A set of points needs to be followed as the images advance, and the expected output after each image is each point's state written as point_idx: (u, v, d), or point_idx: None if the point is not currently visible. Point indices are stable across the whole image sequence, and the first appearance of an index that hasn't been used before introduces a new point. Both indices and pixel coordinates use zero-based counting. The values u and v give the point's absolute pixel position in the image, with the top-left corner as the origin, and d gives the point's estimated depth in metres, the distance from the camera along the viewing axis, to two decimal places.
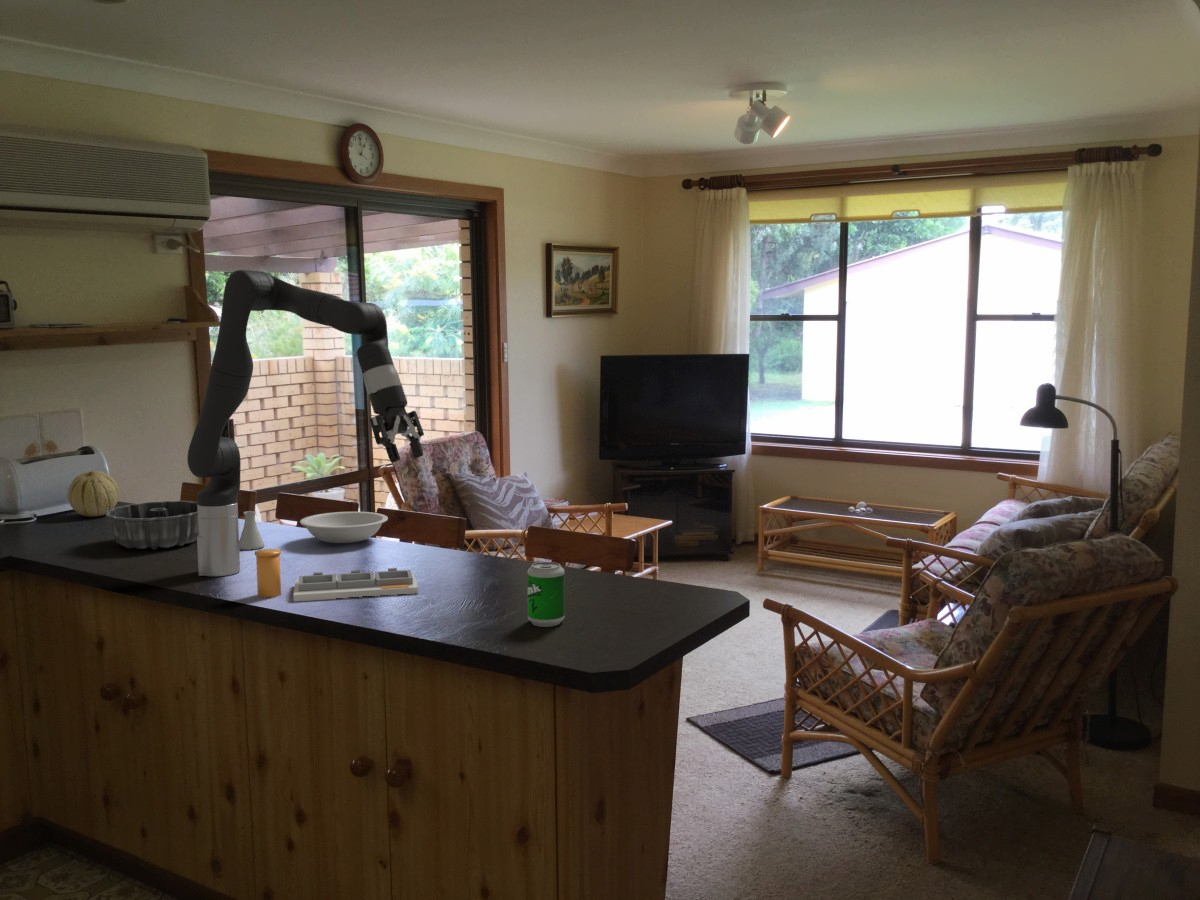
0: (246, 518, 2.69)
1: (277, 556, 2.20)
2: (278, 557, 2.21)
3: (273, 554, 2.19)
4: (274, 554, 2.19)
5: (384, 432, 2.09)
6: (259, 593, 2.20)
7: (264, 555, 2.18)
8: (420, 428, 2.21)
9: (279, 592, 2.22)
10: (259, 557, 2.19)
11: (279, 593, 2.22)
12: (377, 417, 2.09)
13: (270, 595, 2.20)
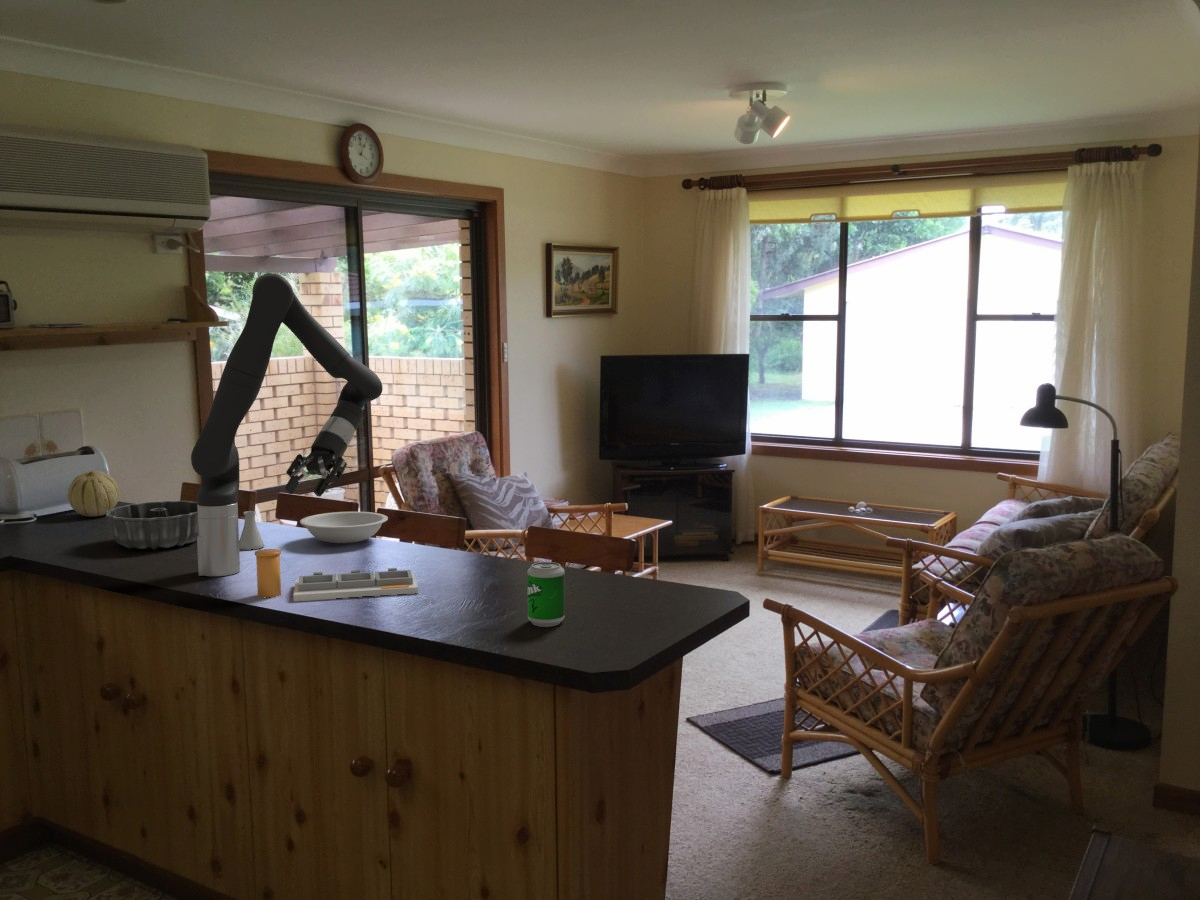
0: (246, 518, 2.69)
1: (277, 556, 2.20)
2: (278, 557, 2.21)
3: (273, 554, 2.19)
4: (274, 554, 2.19)
5: None
6: (259, 593, 2.20)
7: (264, 555, 2.18)
8: None
9: (279, 592, 2.22)
10: (259, 557, 2.19)
11: (279, 593, 2.22)
12: (346, 463, 2.33)
13: (270, 595, 2.20)
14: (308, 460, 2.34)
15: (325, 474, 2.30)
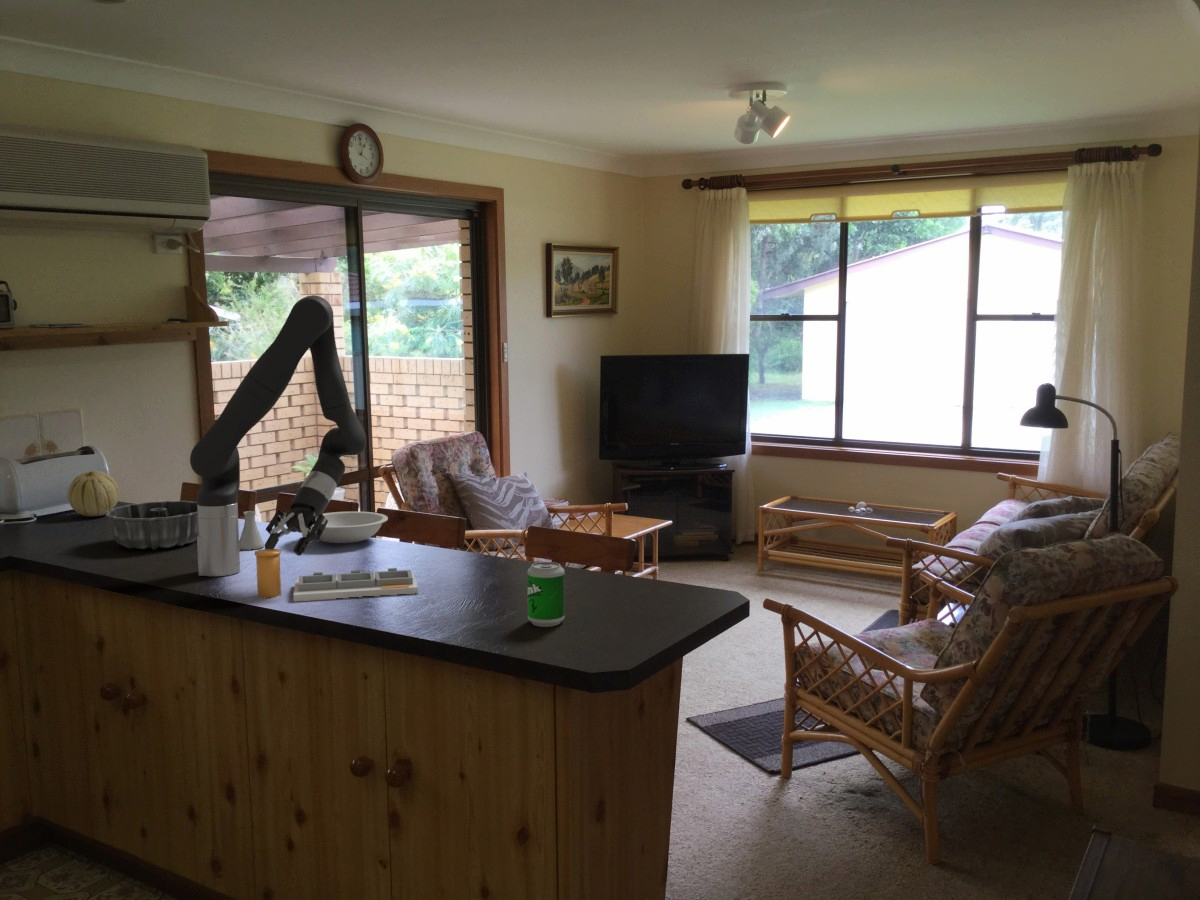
0: (246, 518, 2.69)
1: (277, 556, 2.20)
2: (278, 557, 2.21)
3: (273, 554, 2.19)
4: (274, 554, 2.19)
5: None
6: (259, 593, 2.20)
7: (264, 555, 2.18)
8: None
9: (279, 592, 2.22)
10: (259, 557, 2.19)
11: (279, 593, 2.22)
12: (327, 521, 2.28)
13: (270, 595, 2.20)
14: (288, 517, 2.29)
15: (305, 532, 2.25)
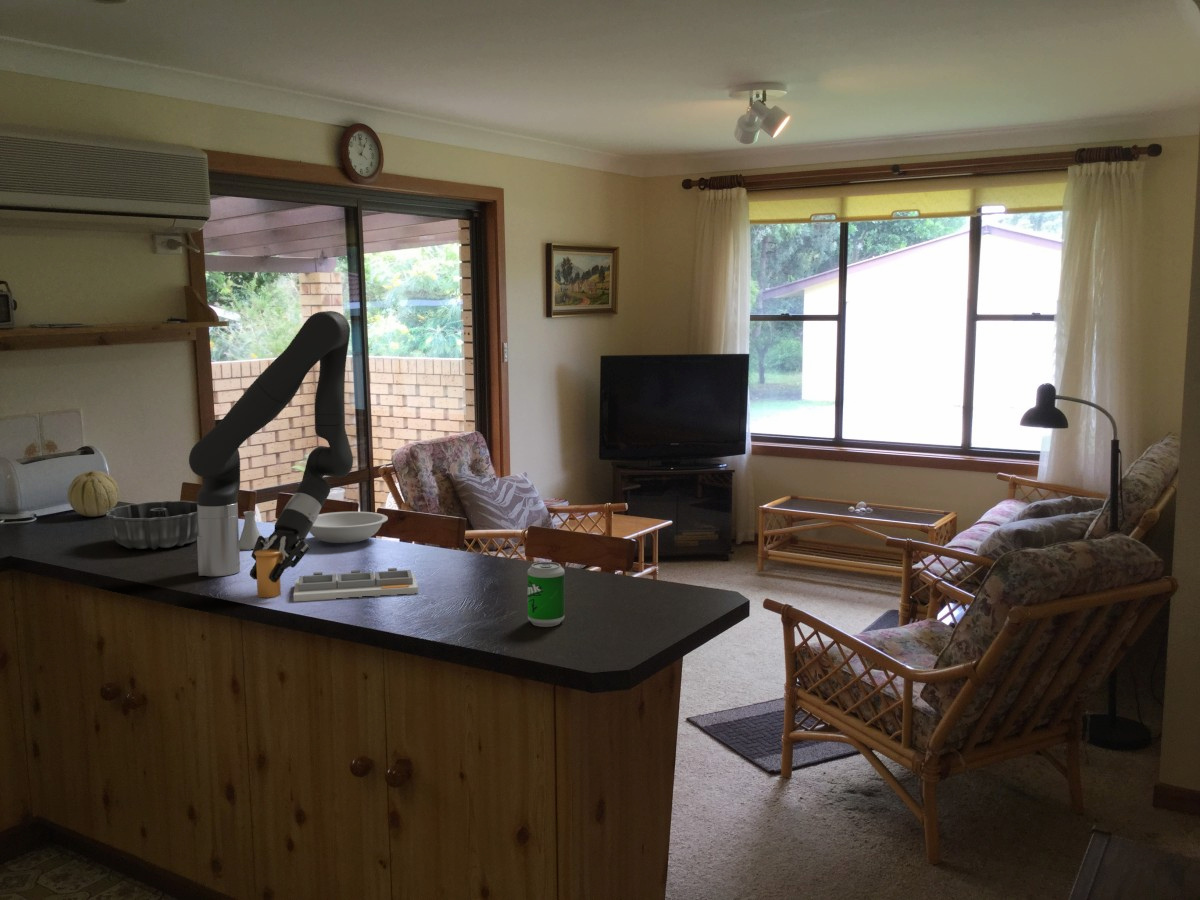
0: (246, 518, 2.69)
1: (277, 556, 2.20)
2: (278, 557, 2.21)
3: (273, 554, 2.19)
4: (274, 554, 2.19)
5: None
6: (259, 593, 2.20)
7: (264, 555, 2.18)
8: None
9: (279, 592, 2.22)
10: (259, 557, 2.19)
11: (279, 593, 2.22)
12: (308, 548, 2.23)
13: (270, 595, 2.20)
14: (272, 540, 2.24)
15: (281, 558, 2.20)
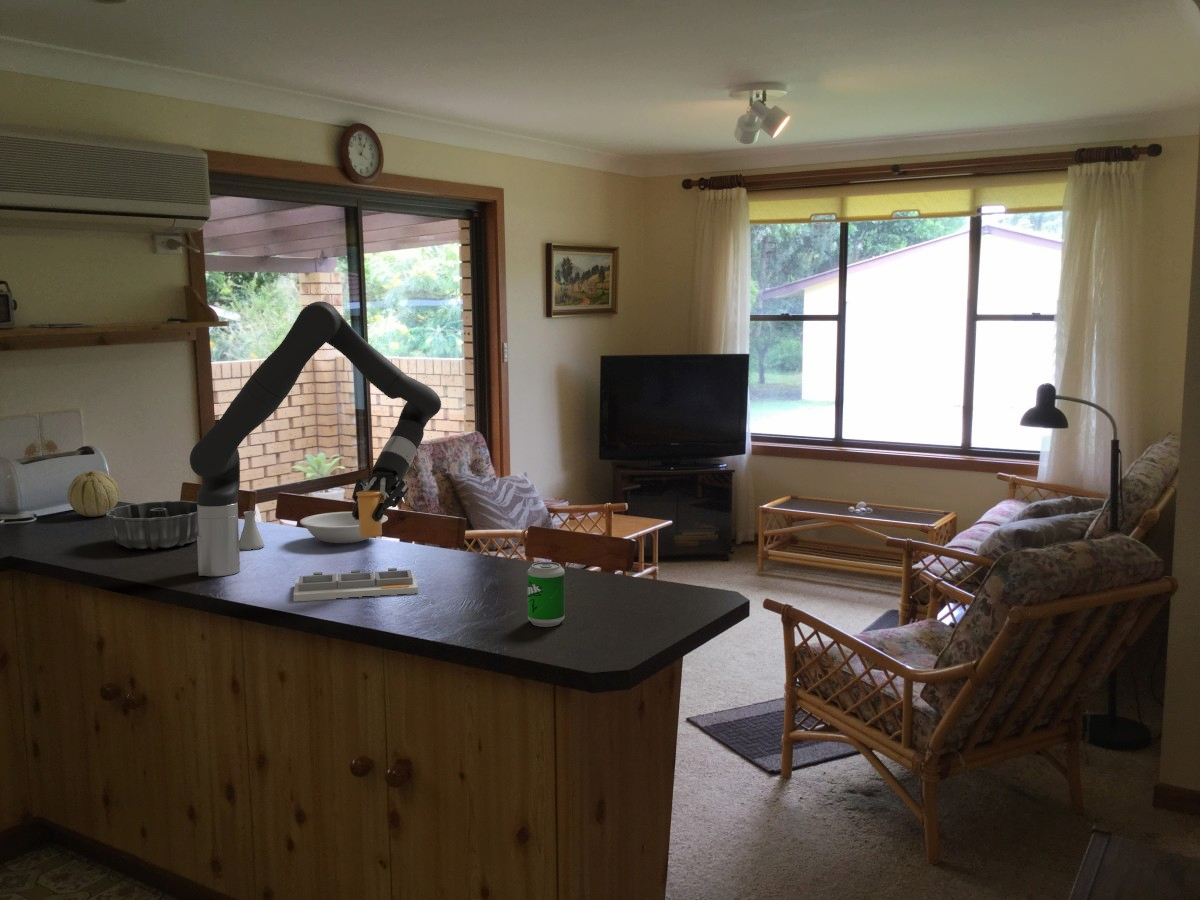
0: (246, 518, 2.69)
1: (378, 496, 2.24)
2: (379, 497, 2.25)
3: (375, 494, 2.23)
4: (376, 494, 2.23)
5: None
6: (361, 533, 2.24)
7: (366, 495, 2.22)
8: None
9: (380, 532, 2.26)
10: (361, 497, 2.23)
11: (380, 533, 2.26)
12: (407, 488, 2.27)
13: (372, 534, 2.24)
14: (371, 482, 2.28)
15: (383, 498, 2.24)
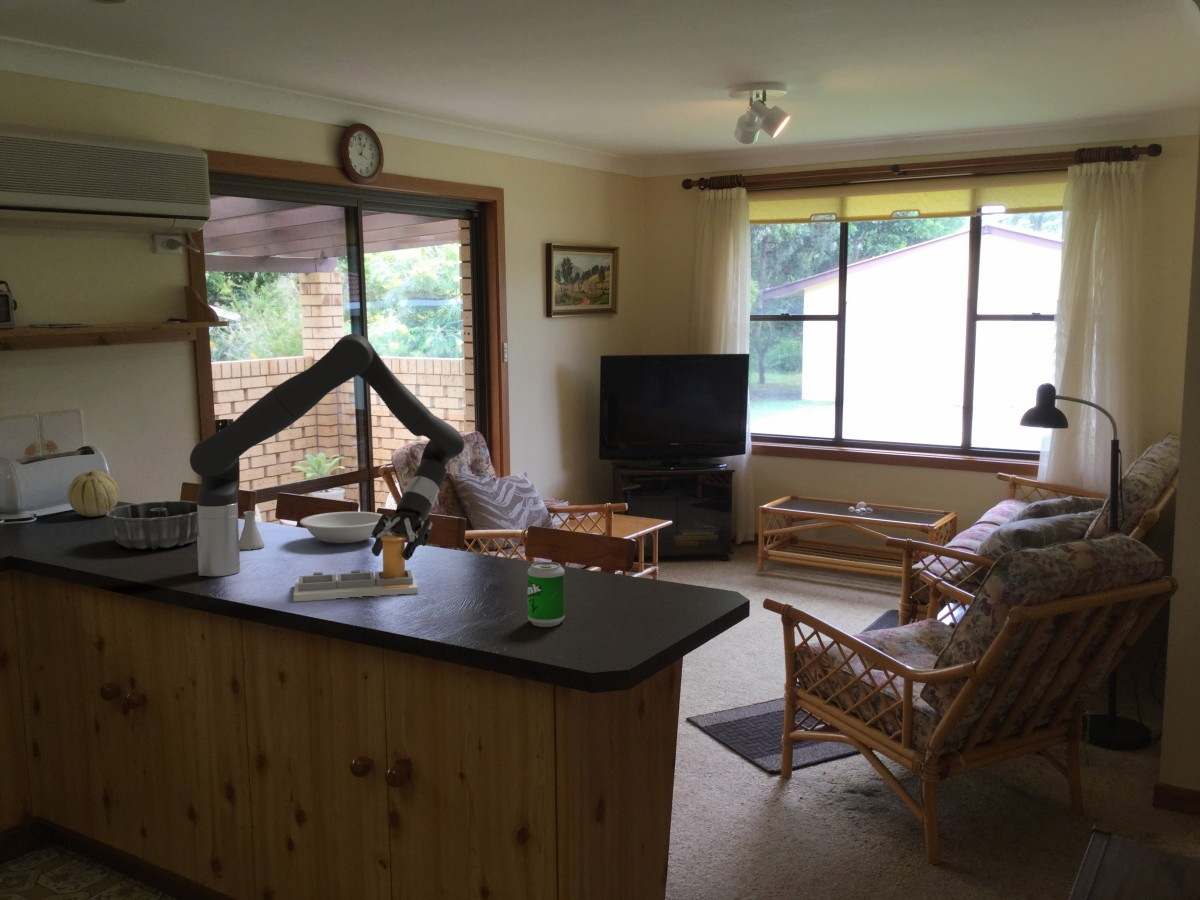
0: (246, 518, 2.69)
1: (403, 542, 2.27)
2: (403, 543, 2.28)
3: (400, 539, 2.26)
4: (401, 539, 2.26)
5: None
6: (385, 577, 2.27)
7: (391, 540, 2.25)
8: None
9: (404, 577, 2.29)
10: (386, 542, 2.26)
11: None
12: (433, 526, 2.30)
13: None
14: (394, 522, 2.31)
15: (413, 537, 2.27)
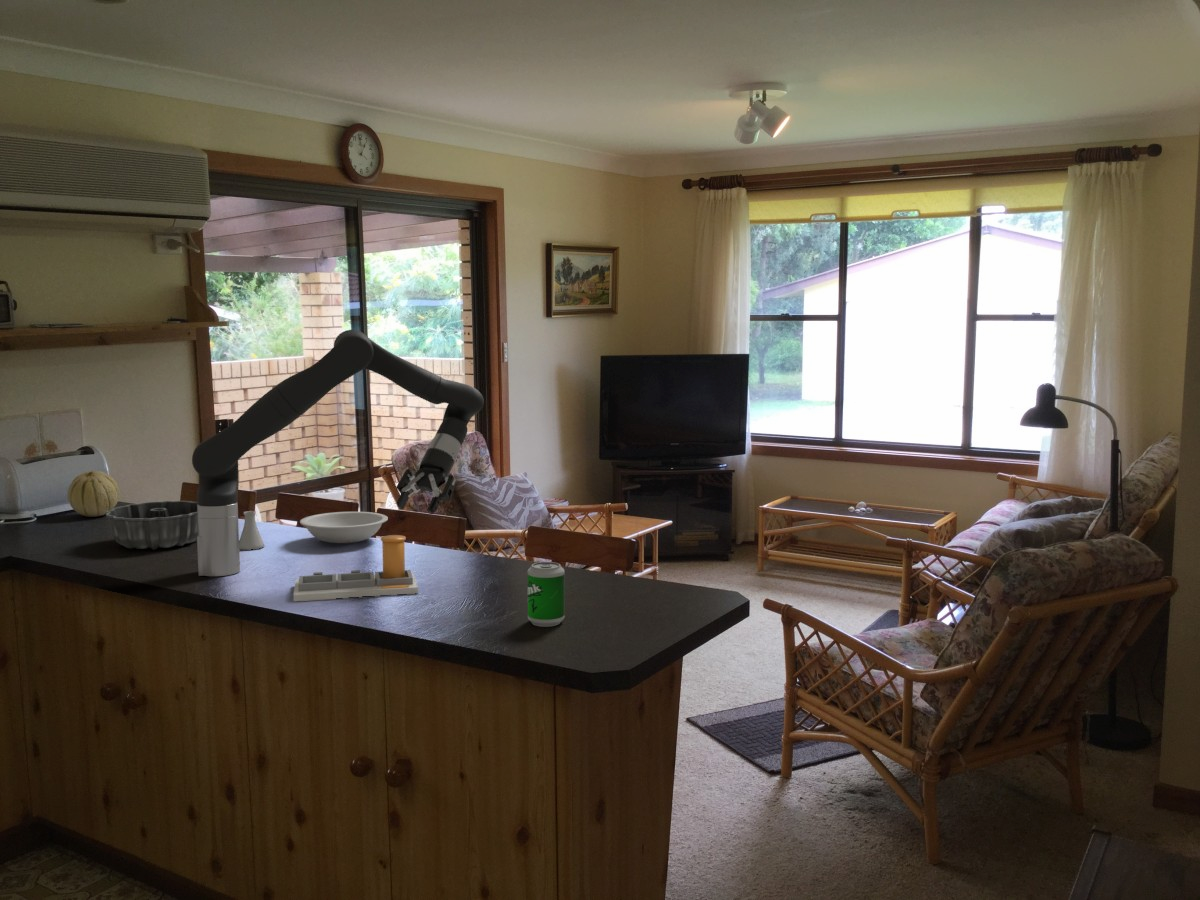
0: (246, 518, 2.69)
1: (403, 542, 2.27)
2: (403, 543, 2.28)
3: (399, 540, 2.26)
4: (400, 540, 2.26)
5: None
6: (385, 578, 2.27)
7: (391, 541, 2.25)
8: None
9: (404, 577, 2.29)
10: (386, 543, 2.26)
11: None
12: (456, 482, 2.41)
13: None
14: (419, 477, 2.41)
15: (437, 492, 2.37)
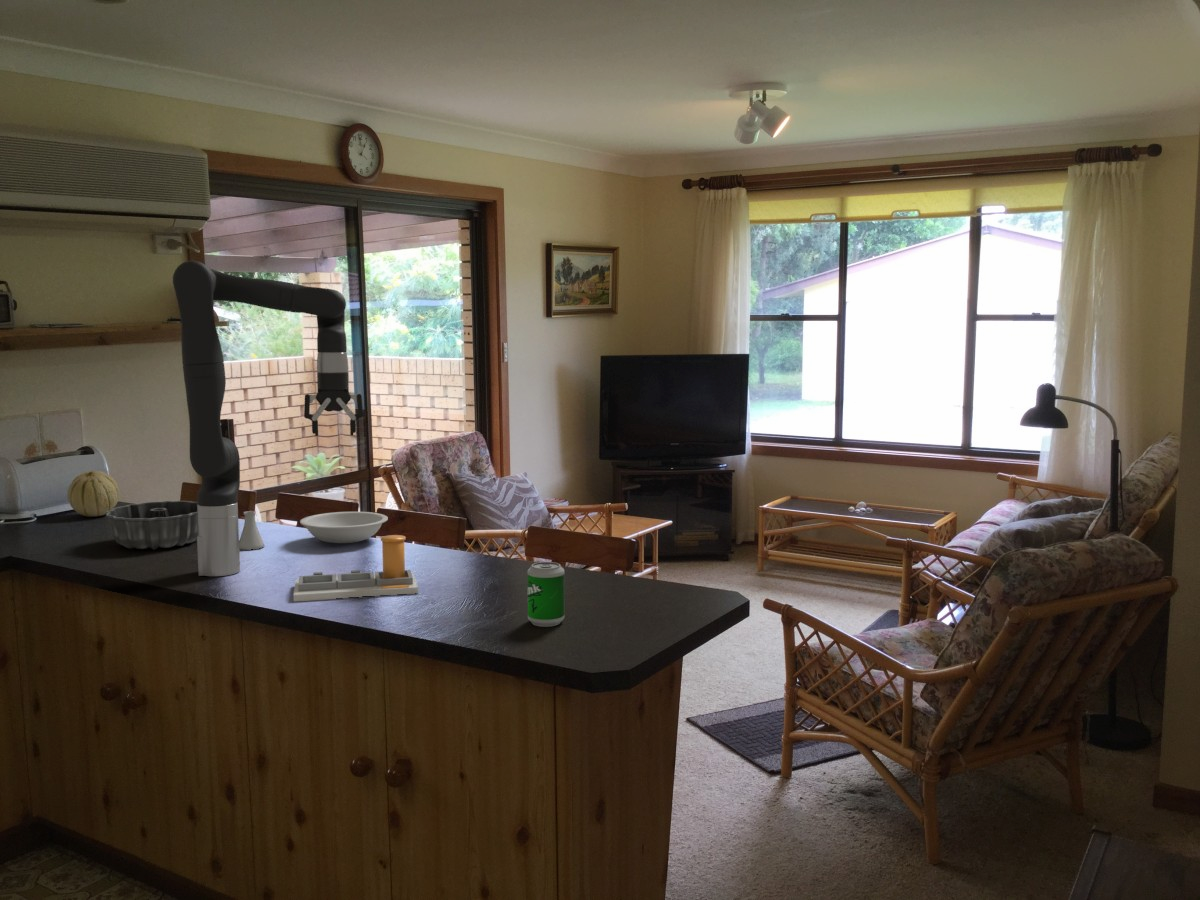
0: (246, 518, 2.69)
1: (402, 542, 2.27)
2: (403, 543, 2.28)
3: (399, 540, 2.26)
4: (400, 540, 2.26)
5: None
6: (385, 578, 2.27)
7: (391, 541, 2.25)
8: None
9: (404, 577, 2.29)
10: (386, 543, 2.26)
11: None
12: None
13: None
14: (325, 403, 2.45)
15: (353, 415, 2.48)
